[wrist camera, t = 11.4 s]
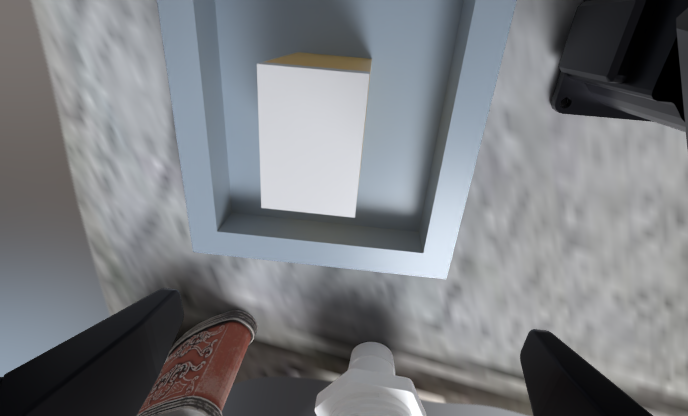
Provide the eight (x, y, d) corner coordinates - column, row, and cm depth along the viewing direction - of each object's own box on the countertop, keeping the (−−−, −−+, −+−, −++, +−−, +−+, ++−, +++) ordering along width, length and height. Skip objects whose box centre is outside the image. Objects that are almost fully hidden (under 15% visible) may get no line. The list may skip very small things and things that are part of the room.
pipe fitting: (330, 317, 25) (312, 431, 18) (430, 334, 25) (451, 455, 18) (319, 376, 28) (299, 495, 21) (409, 392, 28) (420, 516, 21)
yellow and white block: (372, 58, 17) (369, 73, 11) (361, 160, 19) (354, 217, 13) (298, 52, 17) (256, 63, 11) (296, 153, 19) (261, 208, 13)
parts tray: (511, -77, 15) (542, -101, 12) (437, 248, 22) (446, 279, 19) (180, -99, 15) (138, -127, 13) (214, 225, 22) (192, 251, 20)
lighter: (194, 370, 29) (113, 522, 20) (163, 344, 28) (62, 492, 19) (267, 331, 26) (212, 486, 17) (236, 301, 25) (160, 450, 16)
